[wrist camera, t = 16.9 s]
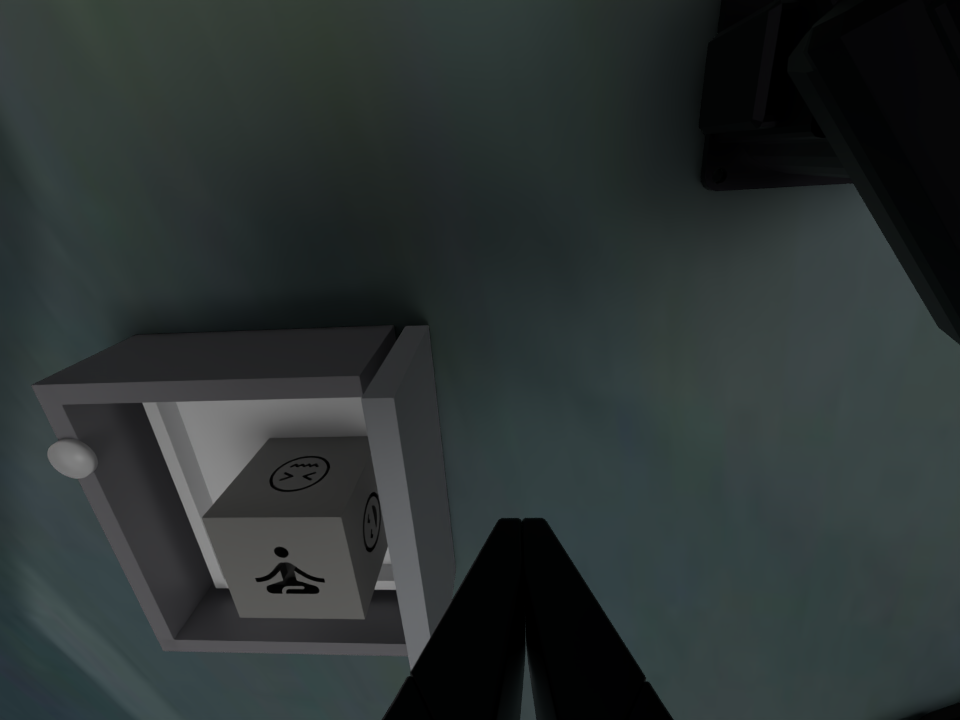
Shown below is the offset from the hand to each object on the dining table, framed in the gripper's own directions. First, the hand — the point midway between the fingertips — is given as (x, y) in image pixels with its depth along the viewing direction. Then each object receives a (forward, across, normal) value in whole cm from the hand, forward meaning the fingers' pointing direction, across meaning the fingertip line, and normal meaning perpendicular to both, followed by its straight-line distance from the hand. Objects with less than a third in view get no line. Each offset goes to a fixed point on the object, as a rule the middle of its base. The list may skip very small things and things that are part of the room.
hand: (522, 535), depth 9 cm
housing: (+12, +11, +7) cm, 18 cm away
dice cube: (+11, +9, +7) cm, 15 cm away
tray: (+12, +10, +7) cm, 17 cm away
